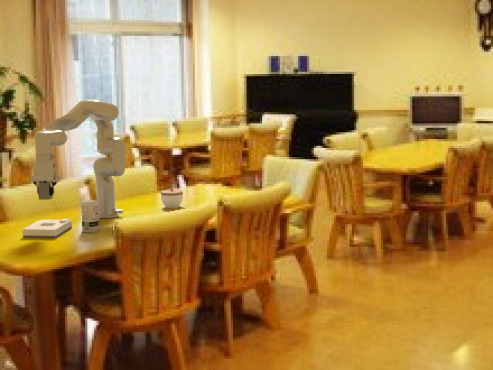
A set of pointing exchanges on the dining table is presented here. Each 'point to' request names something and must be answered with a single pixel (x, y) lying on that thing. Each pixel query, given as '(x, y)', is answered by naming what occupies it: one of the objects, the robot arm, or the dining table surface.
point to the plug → (44, 190)
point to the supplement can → (90, 216)
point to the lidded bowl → (172, 198)
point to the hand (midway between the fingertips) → (45, 194)
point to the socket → (47, 228)
